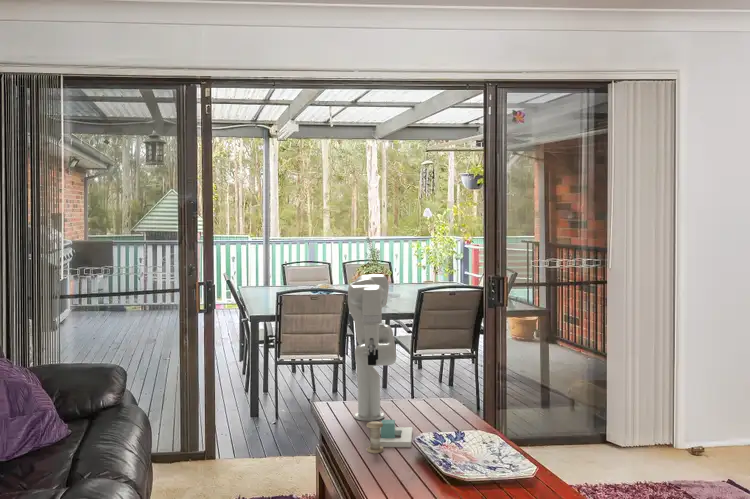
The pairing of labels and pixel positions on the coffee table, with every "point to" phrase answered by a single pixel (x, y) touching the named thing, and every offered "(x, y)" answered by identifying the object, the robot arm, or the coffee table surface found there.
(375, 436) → the bobbin
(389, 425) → the block
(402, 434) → the notched board
